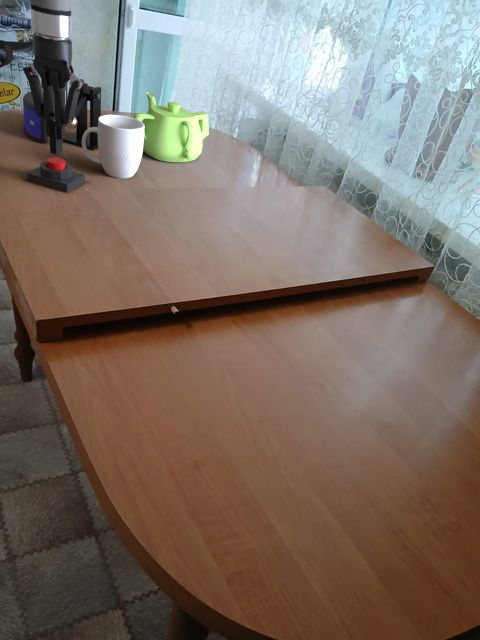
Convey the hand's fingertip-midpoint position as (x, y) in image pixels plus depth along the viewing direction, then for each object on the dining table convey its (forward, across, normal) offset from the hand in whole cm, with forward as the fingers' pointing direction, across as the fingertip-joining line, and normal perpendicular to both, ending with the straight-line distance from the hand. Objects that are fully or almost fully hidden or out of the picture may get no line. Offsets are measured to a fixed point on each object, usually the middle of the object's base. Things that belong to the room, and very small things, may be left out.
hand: (56, 152), depth 124 cm
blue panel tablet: (+7, +21, -26) cm, 34 cm away
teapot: (+8, -11, -40) cm, 42 cm away
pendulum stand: (+7, +9, -31) cm, 33 cm away
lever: (-1, +9, -27) cm, 28 cm away
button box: (+7, 0, 0) cm, 7 cm away
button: (+4, 0, 0) cm, 4 cm away
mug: (+8, -7, -15) cm, 18 cm away
